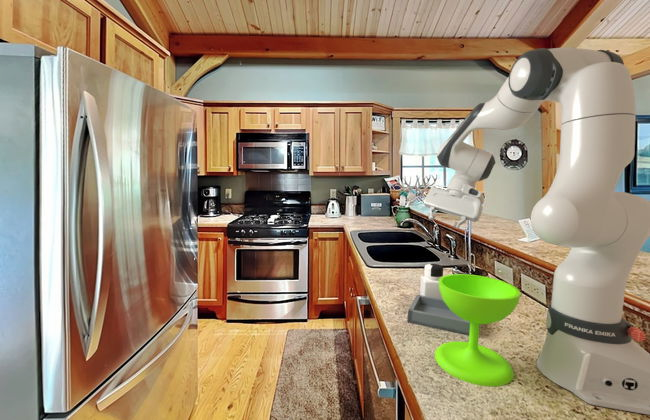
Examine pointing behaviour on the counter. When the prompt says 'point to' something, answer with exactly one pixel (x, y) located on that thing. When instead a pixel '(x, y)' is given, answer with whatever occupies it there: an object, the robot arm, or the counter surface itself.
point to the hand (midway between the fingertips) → (442, 223)
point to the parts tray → (436, 315)
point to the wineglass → (476, 327)
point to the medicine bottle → (431, 281)
